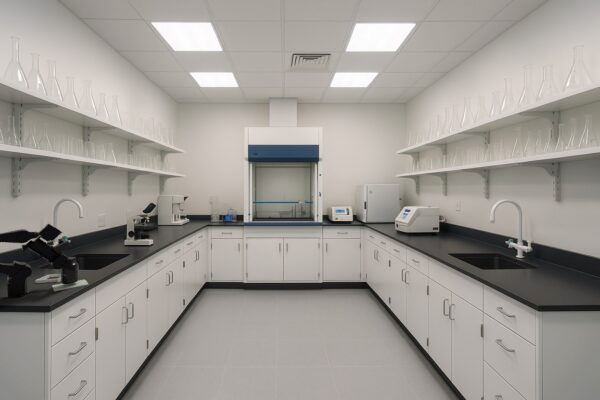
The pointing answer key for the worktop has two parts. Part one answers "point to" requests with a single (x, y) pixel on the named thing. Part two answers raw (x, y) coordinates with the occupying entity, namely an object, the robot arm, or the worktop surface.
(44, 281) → the white square frame
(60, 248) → the robot arm
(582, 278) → the worktop surface
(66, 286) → the mat
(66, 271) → the supplement bottle
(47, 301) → the worktop surface
